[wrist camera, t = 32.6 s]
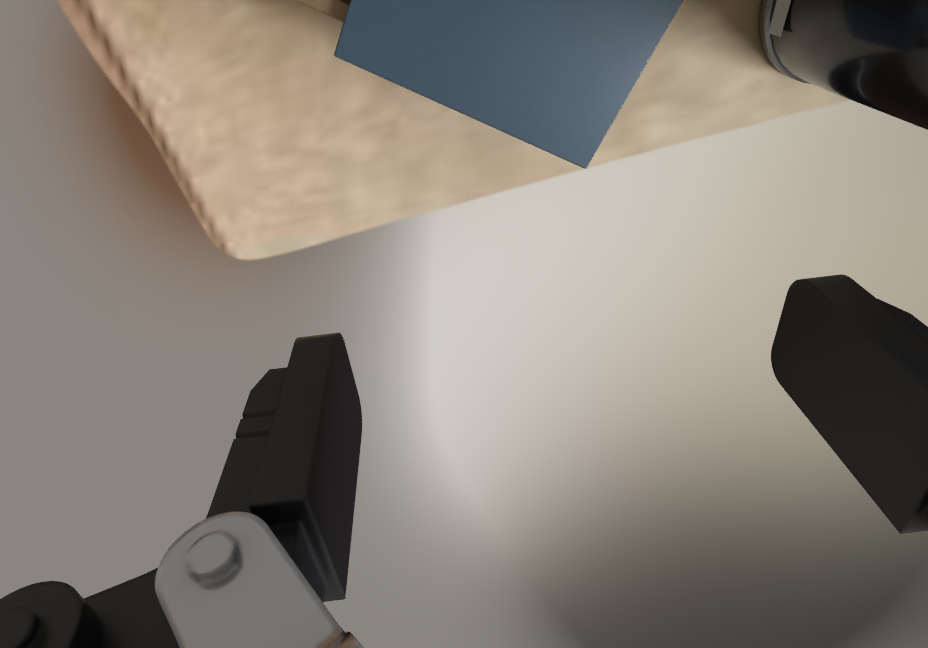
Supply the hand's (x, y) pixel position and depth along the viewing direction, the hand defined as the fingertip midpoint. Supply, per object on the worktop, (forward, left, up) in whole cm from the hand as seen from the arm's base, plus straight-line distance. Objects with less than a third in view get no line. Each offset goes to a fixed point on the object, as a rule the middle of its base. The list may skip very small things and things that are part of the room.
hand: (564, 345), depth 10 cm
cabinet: (0, -4, -30) cm, 30 cm away
